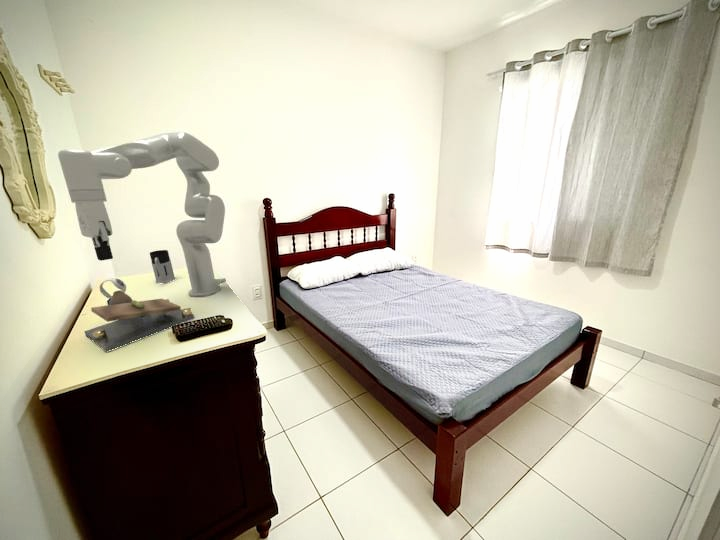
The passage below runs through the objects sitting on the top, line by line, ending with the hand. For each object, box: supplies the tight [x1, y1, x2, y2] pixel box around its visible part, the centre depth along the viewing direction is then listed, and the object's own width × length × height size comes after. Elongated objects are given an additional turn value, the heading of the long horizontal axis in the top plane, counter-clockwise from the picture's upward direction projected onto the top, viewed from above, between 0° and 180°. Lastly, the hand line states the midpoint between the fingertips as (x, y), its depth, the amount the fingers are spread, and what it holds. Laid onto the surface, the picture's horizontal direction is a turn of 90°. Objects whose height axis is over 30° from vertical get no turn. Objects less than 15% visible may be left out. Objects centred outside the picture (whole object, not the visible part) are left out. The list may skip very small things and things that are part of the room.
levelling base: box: [83, 298, 195, 352], centre depth 97 cm, size 25×19×6 cm
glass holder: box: [149, 249, 177, 284], centre depth 139 cm, size 9×14×15 cm, turn 24°
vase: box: [109, 289, 134, 305], centre depth 107 cm, size 7×7×9 cm
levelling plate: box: [90, 298, 182, 323], centre depth 96 cm, size 20×14×3 cm
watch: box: [99, 277, 127, 306], centre depth 115 cm, size 6×8×11 cm
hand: (105, 259), depth 87 cm, fingers closed
